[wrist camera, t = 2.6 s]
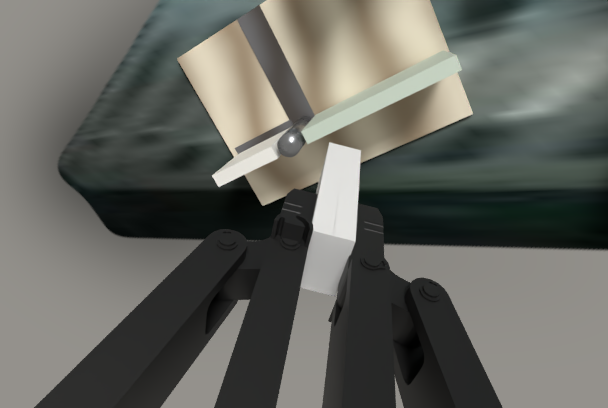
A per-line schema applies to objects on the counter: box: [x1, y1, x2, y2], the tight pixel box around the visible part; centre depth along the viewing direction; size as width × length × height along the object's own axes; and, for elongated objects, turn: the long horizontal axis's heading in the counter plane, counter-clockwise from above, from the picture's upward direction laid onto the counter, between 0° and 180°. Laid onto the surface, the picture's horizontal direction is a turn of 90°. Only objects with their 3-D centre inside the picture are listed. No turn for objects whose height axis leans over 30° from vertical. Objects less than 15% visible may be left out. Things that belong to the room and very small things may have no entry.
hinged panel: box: [301, 51, 462, 144], centre depth 34 cm, size 13×1×8 cm, turn 118°
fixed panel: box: [212, 128, 289, 187], centre depth 38 cm, size 6×1×8 cm, turn 118°
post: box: [277, 116, 312, 157], centre depth 37 cm, size 2×2×8 cm
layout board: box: [177, 0, 473, 206], centre depth 39 cm, size 24×18×1 cm
